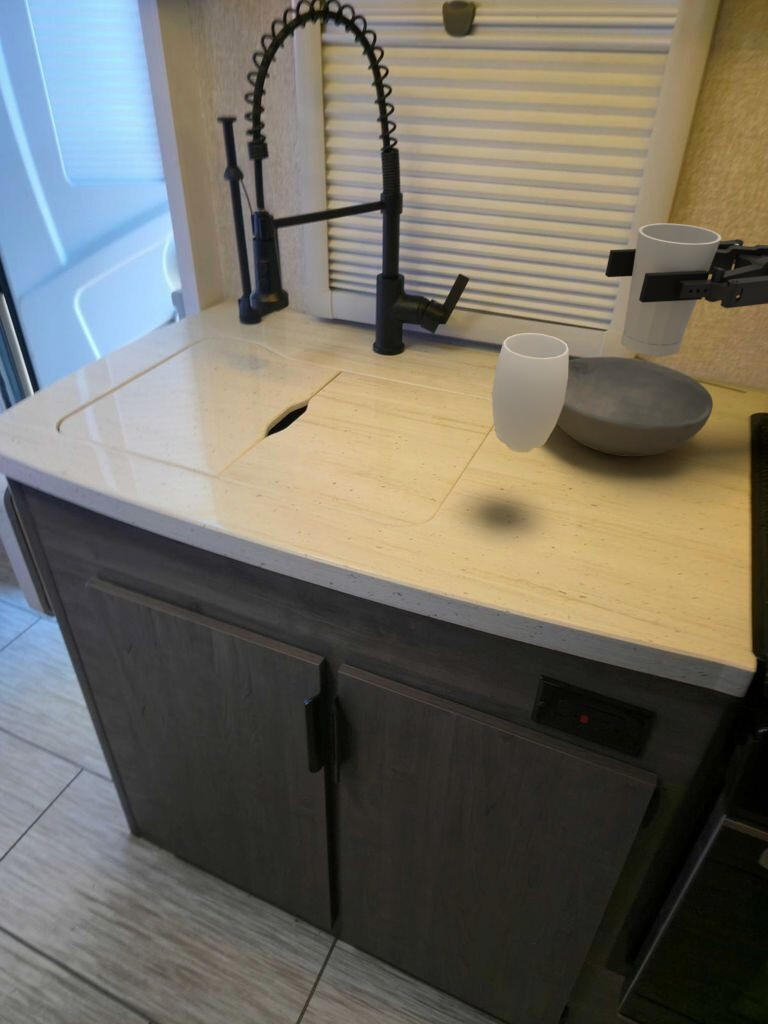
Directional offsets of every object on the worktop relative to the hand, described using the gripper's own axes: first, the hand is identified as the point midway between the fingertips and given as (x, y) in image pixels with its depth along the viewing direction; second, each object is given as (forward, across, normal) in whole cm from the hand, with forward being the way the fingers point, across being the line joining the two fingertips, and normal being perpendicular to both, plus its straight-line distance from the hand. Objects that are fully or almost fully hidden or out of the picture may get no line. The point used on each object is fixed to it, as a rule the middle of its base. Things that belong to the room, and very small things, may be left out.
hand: (626, 275), depth 70 cm
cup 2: (-5, 0, -8) cm, 10 cm away
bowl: (-7, +6, -25) cm, 26 cm away
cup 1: (+12, -8, -24) cm, 29 cm away
